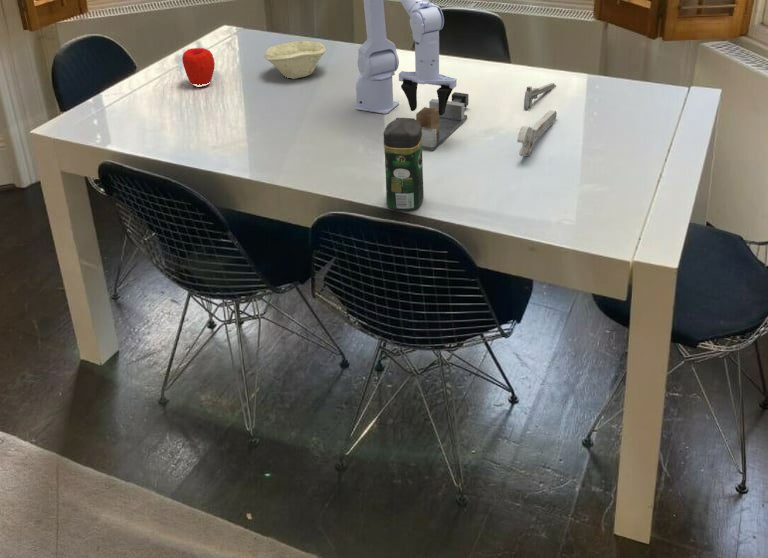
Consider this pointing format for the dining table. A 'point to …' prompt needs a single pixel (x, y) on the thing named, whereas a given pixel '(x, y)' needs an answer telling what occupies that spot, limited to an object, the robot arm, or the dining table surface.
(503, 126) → the dining table surface
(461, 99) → the slide jaw
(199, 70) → the apple
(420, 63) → the robot arm
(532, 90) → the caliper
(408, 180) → the coffee jar
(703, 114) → the dining table surface
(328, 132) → the dining table surface
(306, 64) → the bowl
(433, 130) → the vise
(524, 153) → the wrench
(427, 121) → the block
